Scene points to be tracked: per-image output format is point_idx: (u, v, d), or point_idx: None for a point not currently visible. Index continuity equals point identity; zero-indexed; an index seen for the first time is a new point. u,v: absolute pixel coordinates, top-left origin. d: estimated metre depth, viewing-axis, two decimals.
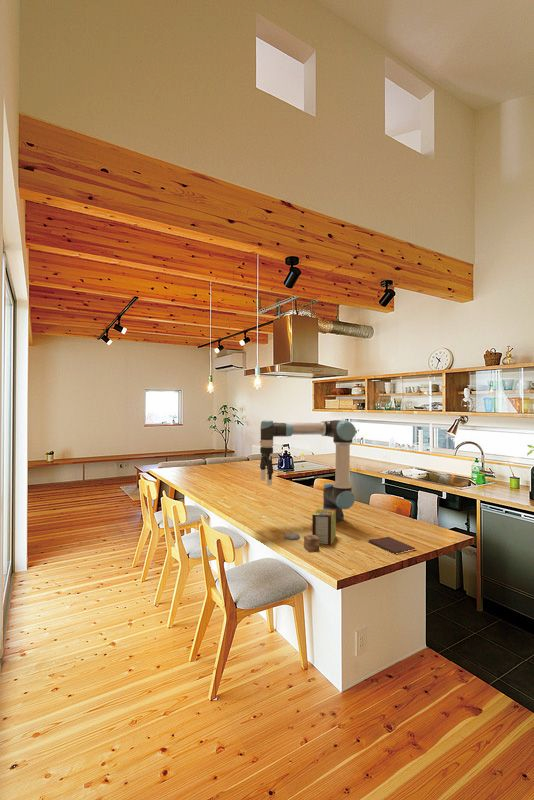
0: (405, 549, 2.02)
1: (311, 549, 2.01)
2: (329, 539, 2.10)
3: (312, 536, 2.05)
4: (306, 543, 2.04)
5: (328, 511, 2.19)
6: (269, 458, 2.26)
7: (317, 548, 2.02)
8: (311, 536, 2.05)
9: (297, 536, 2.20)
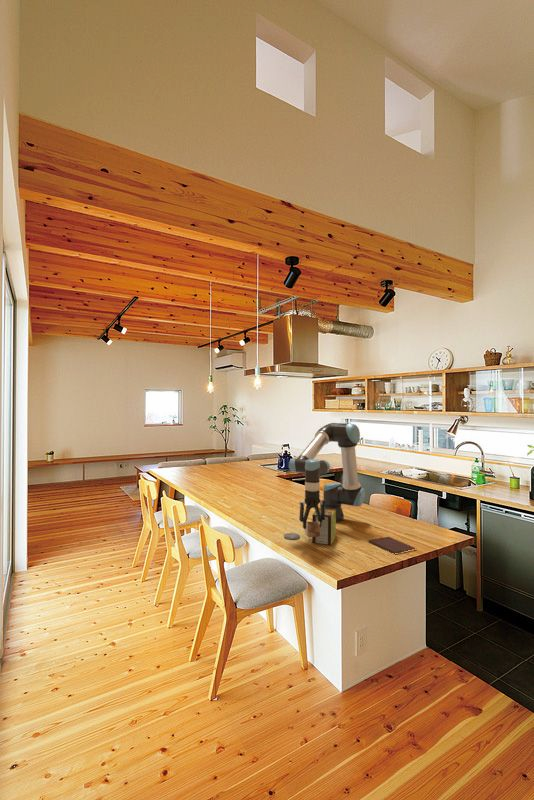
0: (405, 549, 2.02)
1: (312, 535, 2.02)
2: (329, 539, 2.10)
3: (312, 522, 2.06)
4: None
5: (328, 511, 2.19)
6: (300, 504, 2.03)
7: (318, 534, 2.03)
8: (311, 522, 2.06)
9: (297, 536, 2.20)
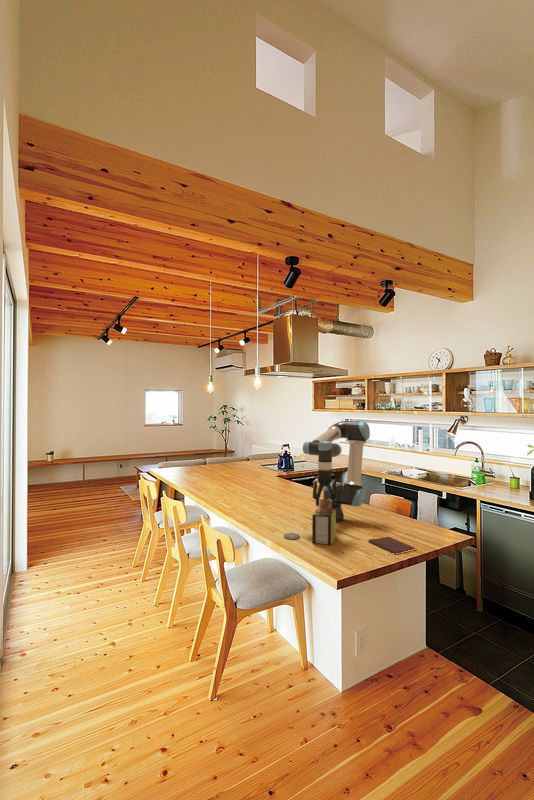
0: (405, 549, 2.02)
1: (324, 511, 2.15)
2: (329, 539, 2.10)
3: (325, 500, 2.19)
4: None
5: None
6: (313, 483, 2.17)
7: (330, 510, 2.16)
8: (324, 500, 2.19)
9: (297, 536, 2.20)
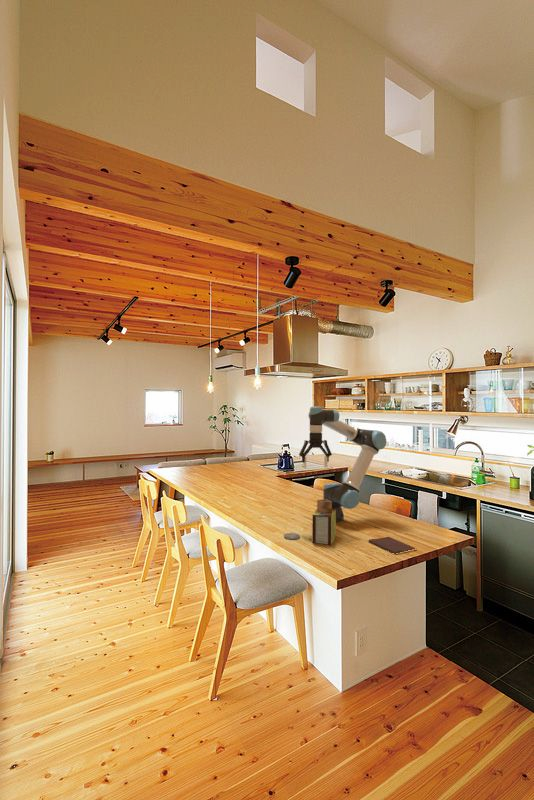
0: (405, 549, 2.02)
1: (324, 511, 2.15)
2: (329, 539, 2.10)
3: (325, 500, 2.19)
4: (319, 506, 2.18)
5: None
6: (304, 442, 2.35)
7: (330, 510, 2.16)
8: (324, 500, 2.19)
9: (297, 536, 2.20)
